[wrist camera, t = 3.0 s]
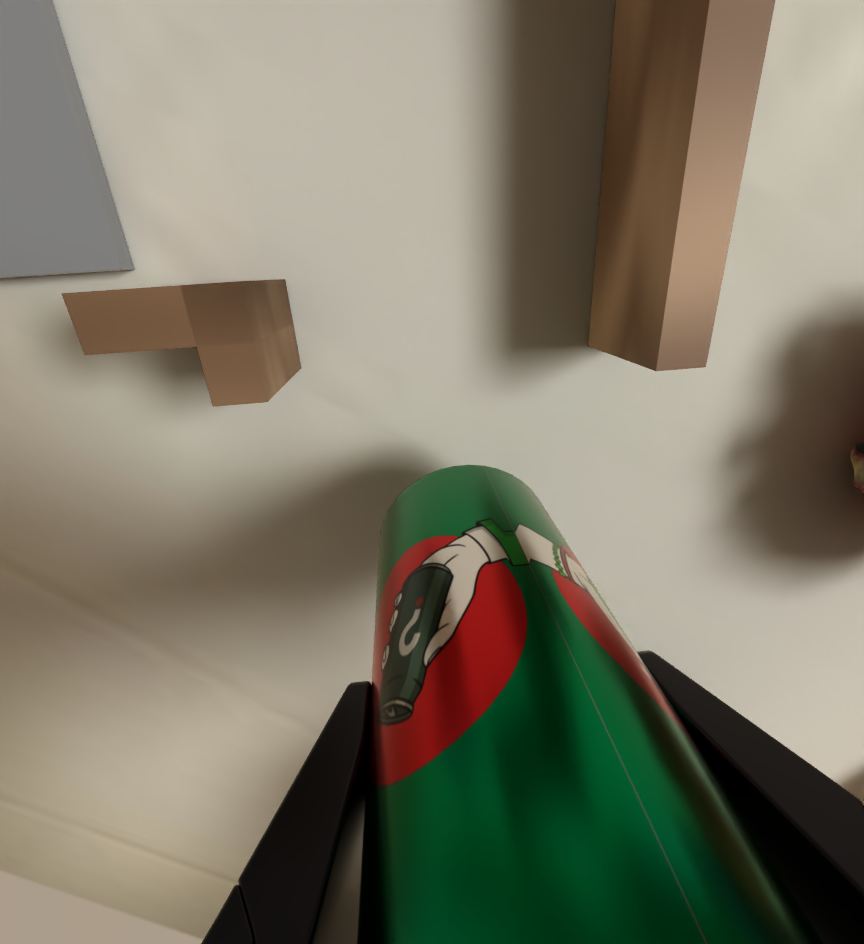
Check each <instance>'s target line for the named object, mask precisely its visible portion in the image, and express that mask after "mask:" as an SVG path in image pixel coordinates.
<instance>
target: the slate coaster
mask: <svg viewBox="0 0 864 944" xmlns="http://www.w3.org/2000/svg"><path fill="white" fill-rule="evenodd" d="M121 270H135V269H134V265H133V262H132V259H131V256H130V252H129V249H128V246H127V242H126V239H125V236H124V233H123V229H122V226H121V223H120V220H119V216H118V213H117V210H116V207H115V203H114V200H113V197H112V194H111V190H110V187H109V184H108V181H107V177H106V174H105V171H104V168H103V164H102V161H101V158H100V154H99V151H98V148H97V145H96V141H95V138H94V135H93V132H92V128H91V125H90V122H89V119H88V115H87V112H86V109H85V106H84V102H83V99H82V96H81V93H80V89H79V86H78V83H77V79H76V76H75V73H74V70H73V66H72V63H71V60H70V57H69V53H68V50H67V47H66V44H65V40H64V37H63V34H62V31H61V27H60V24H59V21H58V18H57V14H56V11H55V8H54V4H53V1H52V0H0V278H15V277H30V276H45V275H61V274H76V273H91V272H106V271H121Z"/></svg>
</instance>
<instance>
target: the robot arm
mask: <svg viewBox="0 0 864 944" xmlns="http://www.w3.org/2000/svg"><path fill="white" fill-rule="evenodd" d="M637 653H638V655H639V656H640V658H641V659H642V661H643V662H644V664H645V665H646V667H647V669H648V670H649V672H650V673H651V675H652V676H653V678H654V679H655V681H656V683H657V684H658V686H659V687H660V689H661V690H662V692H663V694H664V695H665V697H666V698H667V700H668V701H669V703H670V704H671V706H672V708H673V709H674V711H675V712H676V714H677V715H678V717H679V718H680V720H681V722H682V723H683V725H684V726H685V728H686V729H687V731H688V732H689V734H690V736H691V737H692V739H693V740H694V742H695V743H696V745H697V747H698V748H699V750H700V751H701V753H702V754H703V756H704V757H705V759H706V761H707V762H708V764H709V765H710V767H711V768H712V770H713V771H714V773H715V775H716V776H717V778H718V779H719V781H720V782H721V784H722V785H723V787H724V789H725V790H726V792H727V793H728V795H729V796H730V798H731V799H732V801H733V803H734V804H735V806H736V807H737V809H738V810H739V812H740V814H741V815H742V817H743V818H744V820H745V821H746V823H747V824H748V826H749V828H750V829H751V831H752V832H753V834H754V835H755V837H756V838H757V840H758V842H759V843H760V845H761V846H762V848H763V849H764V851H765V852H766V854H767V856H768V857H769V859H770V860H771V862H772V863H773V865H774V866H775V868H776V870H777V871H778V873H779V874H780V876H781V877H782V879H783V881H784V882H785V884H786V885H787V887H788V888H789V890H790V891H791V893H792V895H793V896H794V898H795V899H796V901H797V902H798V904H799V905H800V907H801V909H802V910H803V912H804V913H805V915H806V916H807V918H808V919H809V921H810V923H811V924H812V926H813V927H814V929H815V930H816V932H817V933H818V935H819V937H820V938H821V940H822V941H823V943H824V944H864V805H863V804H862V802H861V801H860V800H859V799H858V798H857V797H855V796H854V795H853V794H851V793H850V792H848V791H847V790H846V789H844V788H843V787H841V786H840V785H839V784H837V783H836V782H834V781H833V780H832V779H830V778H829V777H827V776H826V775H825V774H823V773H822V772H820V771H819V770H818V769H816V768H815V767H813V766H812V765H811V764H809V763H808V762H806V761H805V760H804V759H802V758H801V757H799V756H798V755H797V754H795V753H794V752H792V751H791V750H790V749H788V748H787V747H785V746H784V745H783V744H781V743H780V742H778V741H777V740H776V739H774V738H773V737H771V736H770V735H769V734H767V733H766V732H764V731H763V730H762V729H760V728H759V727H757V726H756V725H755V724H753V723H752V722H750V721H749V720H748V719H746V718H745V717H743V716H742V715H741V714H739V713H738V712H736V711H735V710H734V709H732V708H731V707H730V706H728V705H727V704H725V703H724V702H723V701H721V700H720V699H718V698H717V697H716V696H714V695H713V694H711V693H710V692H709V691H707V690H706V689H704V688H703V687H702V686H700V685H699V684H697V683H696V682H695V681H693V680H692V679H690V678H689V677H688V676H686V675H685V674H683V673H682V672H681V671H679V670H678V669H676V668H675V667H674V666H672V665H671V664H669V663H668V662H667V661H665V660H664V659H662V658H661V657H660V656H658V655H657V654H655V653H654V652H652V651H638V652H637ZM371 687H372V686H371V683H370V682H369V681H363V682H354V683H351V684H349V685H348V687H347V688H346V690H345V692H344V693H343V695H342V697H341V699H340V700H339V702H338V704H337V706H336V708H335V709H334V711H333V713H332V715H331V716H330V718H329V720H328V722H327V723H326V725H325V727H324V729H323V731H322V732H321V734H320V736H319V738H318V739H317V741H316V743H315V745H314V747H313V748H312V750H311V752H310V754H309V755H308V757H307V759H306V761H305V762H304V764H303V766H302V768H301V770H300V771H299V773H298V775H297V777H296V778H295V780H294V782H293V784H292V785H291V787H290V789H289V791H288V793H287V794H286V796H285V798H284V800H283V801H282V803H281V805H280V807H279V808H278V810H277V812H276V814H275V816H274V817H273V819H272V821H271V823H270V824H269V826H268V828H267V830H266V831H265V833H264V835H263V837H262V839H261V840H260V842H259V844H258V846H257V847H256V849H255V851H254V853H253V854H252V856H251V858H250V860H249V862H248V863H247V865H246V867H245V869H244V870H243V872H242V874H241V876H240V878H239V880H238V882H239V885H235V886H234V888H233V889H232V891H231V893H230V895H229V897H228V898H227V900H226V902H225V904H224V905H223V907H222V909H221V911H220V913H219V914H218V916H217V918H216V919H215V921H214V923H213V925H212V926H211V928H210V930H209V931H208V933H207V935H206V936H205V938H204V940H203V941H202V943H201V944H357V933H358V916H359V898H360V880H361V863H362V845H363V827H364V810H365V792H366V774H367V757H368V740H369V722H370V705H371Z"/></svg>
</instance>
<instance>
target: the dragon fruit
mask: <svg viewBox="0 0 864 944" xmlns="http://www.w3.org/2000/svg"><path fill="white" fill-rule="evenodd" d="M850 456H851V461H852V465H853V469H854V479H853V483H854V485H853V486H854V487H856V488H858V489H860V490H861V492H862V494H863V495H864V440H862V441H861V442H859V443H858V444H856V445H855V446H854V447H853V449H852V451H851V454H850Z"/></svg>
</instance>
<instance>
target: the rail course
mask: <svg viewBox="0 0 864 944" xmlns="http://www.w3.org/2000/svg"><path fill="white" fill-rule="evenodd" d="M774 4H775V0H616V6H615V19H614V31H613V44H612V56H611V68H610V81H609V93H608V106H607V118H606V131H605V143H604V155H603V168H602V180H601V193H600V205H599V218H598V230H597V243H596V255H595V267H594V280H593V292H592V305H591V317H590V330H589V342H588V346H590V347H592V348H595V349H598V350H600V351H603V352H606V353H608V354H611V355H614V356H617V357H619V358H622V359H625V360H627V361H630V362H633V363H636V364H638V365H641V366H644V367H646V368H649V369H652V370H654V371H663V370H676V369H688V368H701V367H706V363H707V357H708V352H709V347H710V342H711V336H712V331H713V326H714V320H715V315H716V310H717V305H718V299H719V294H720V289H721V284H722V278H723V273H724V268H725V263H726V257H727V252H728V247H729V241H730V236H731V231H732V226H733V220H734V215H735V210H736V205H737V199H738V194H739V189H740V183H741V178H742V173H743V168H744V162H745V157H746V152H747V147H748V141H749V136H750V131H751V126H752V120H753V115H754V110H755V104H756V99H757V94H758V89H759V83H760V78H761V73H762V68H763V62H764V57H765V52H766V46H767V41H768V36H769V31H770V25H771V20H772V15H773V10H774ZM62 296H63V299H64V301H65V304H66V306H67V309H68V312H69V314H70V317H71V320H72V322H73V325H74V328H75V330H76V333H77V336H78V338H79V341H80V344H81V346H82V349H83V352H84V354H85V355H93V354H107V353H120V352H134V351H148V350H161V349H175V348H188V347H197V350H198V354H199V357H200V361H201V365H202V368H203V372H204V376H205V379H206V383H207V387H208V390H209V394H210V398H211V401H212V405H213V406H225V405H237V404H250V403H262V402H268V401H269V400H270V399H271V398H272V397H273V396H274V395H275V394H276V393H277V392H278V391H279V390H280V389H281V388H282V387H283V386H284V385H285V384H286V383H287V382H288V381H289V380H290V379H291V378H292V377H293V376H294V375H295V374H296V373H297V372H298V371H299V370H300V369H301V364H300V359H299V353H298V348H297V342H296V337H295V331H294V326H293V320H292V315H291V309H290V304H289V298H288V293H287V287H286V282H285V279H284V280H262V281H240V282H225V283H210V284H196V285H181V286H166V287H151V288H137V289H122V290H107V291H92V292H77V293H63V294H62Z"/></svg>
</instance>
